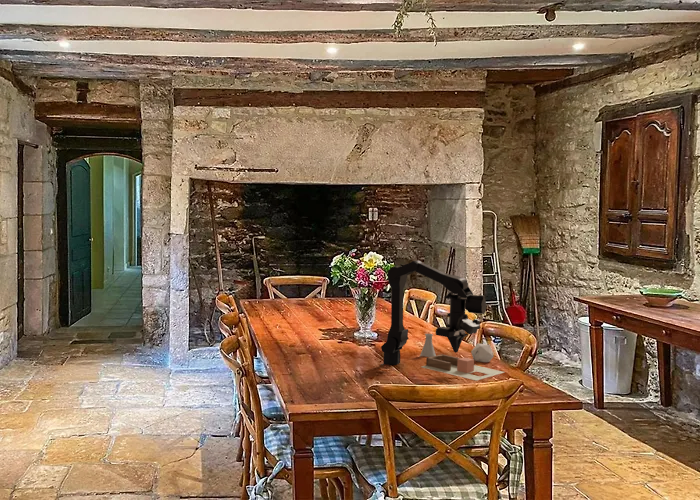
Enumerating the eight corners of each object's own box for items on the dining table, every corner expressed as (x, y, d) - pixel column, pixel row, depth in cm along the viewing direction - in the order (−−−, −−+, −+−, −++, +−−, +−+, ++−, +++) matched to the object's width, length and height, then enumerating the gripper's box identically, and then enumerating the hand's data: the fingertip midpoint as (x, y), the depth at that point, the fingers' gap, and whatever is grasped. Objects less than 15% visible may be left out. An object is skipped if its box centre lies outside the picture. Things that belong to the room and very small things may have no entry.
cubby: (448, 370, 266) (449, 363, 266) (426, 365, 274) (426, 357, 274) (464, 366, 273) (464, 359, 273) (441, 361, 281) (442, 354, 281)
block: (466, 373, 263) (467, 361, 263) (457, 370, 267) (457, 359, 266) (473, 371, 267) (474, 359, 266) (464, 368, 270) (464, 357, 269)
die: (469, 361, 290) (465, 346, 284) (485, 350, 292) (482, 335, 286) (482, 373, 283) (478, 357, 278) (498, 361, 286) (495, 345, 280)
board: (476, 383, 253) (476, 380, 253) (420, 369, 271) (420, 366, 271) (505, 375, 266) (505, 372, 266) (450, 362, 285) (450, 359, 285)
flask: (438, 356, 295) (438, 333, 294) (435, 360, 288) (436, 336, 287) (421, 355, 297) (421, 332, 296) (418, 359, 290) (418, 335, 289)
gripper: (460, 316, 249) (458, 359, 250) (489, 311, 262) (487, 352, 264) (435, 312, 257) (433, 354, 258) (465, 307, 270) (463, 347, 271)
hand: (455, 352), depth 263 cm, fingers closed
